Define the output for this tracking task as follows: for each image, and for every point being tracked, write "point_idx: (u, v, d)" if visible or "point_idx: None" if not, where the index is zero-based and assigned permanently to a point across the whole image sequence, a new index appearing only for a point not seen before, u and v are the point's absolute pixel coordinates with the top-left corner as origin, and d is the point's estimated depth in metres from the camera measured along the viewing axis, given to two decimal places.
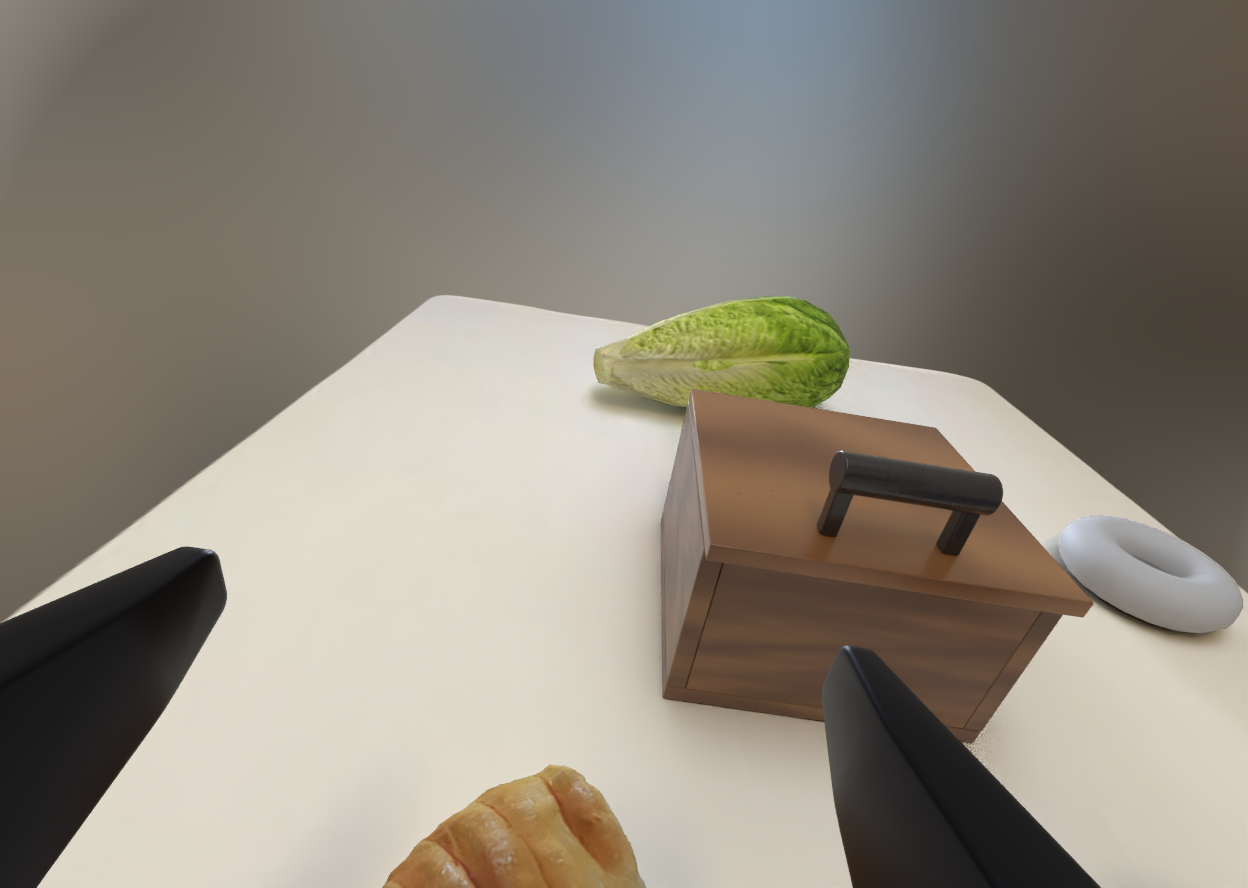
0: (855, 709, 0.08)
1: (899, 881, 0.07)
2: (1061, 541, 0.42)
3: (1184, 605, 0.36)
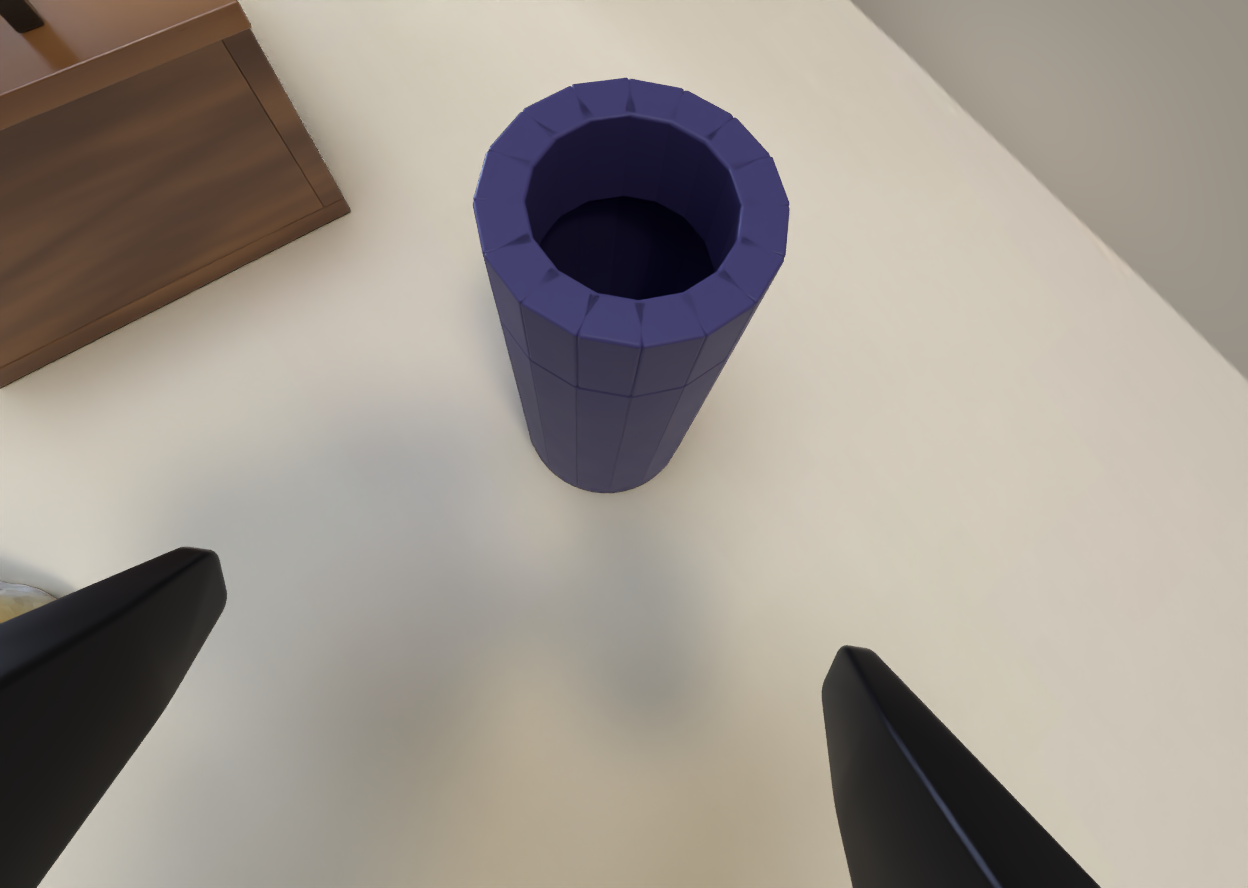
0: (855, 709, 0.08)
1: (899, 881, 0.07)
2: None
3: None
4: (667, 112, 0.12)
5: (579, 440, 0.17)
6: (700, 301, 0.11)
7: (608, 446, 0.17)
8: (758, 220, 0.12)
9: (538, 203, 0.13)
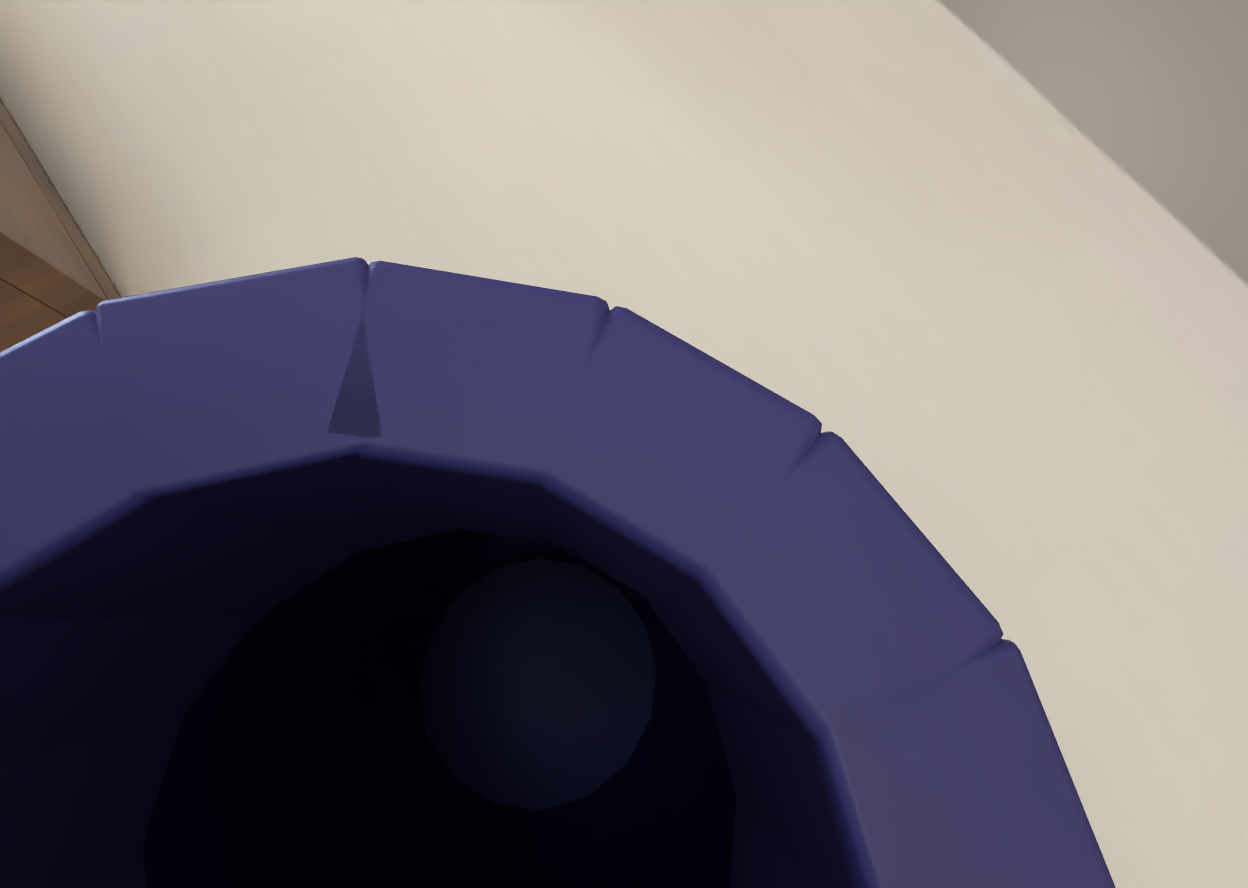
0: None
1: None
2: None
3: None
4: (534, 416, 0.03)
5: None
6: None
7: None
8: None
9: (60, 723, 0.03)
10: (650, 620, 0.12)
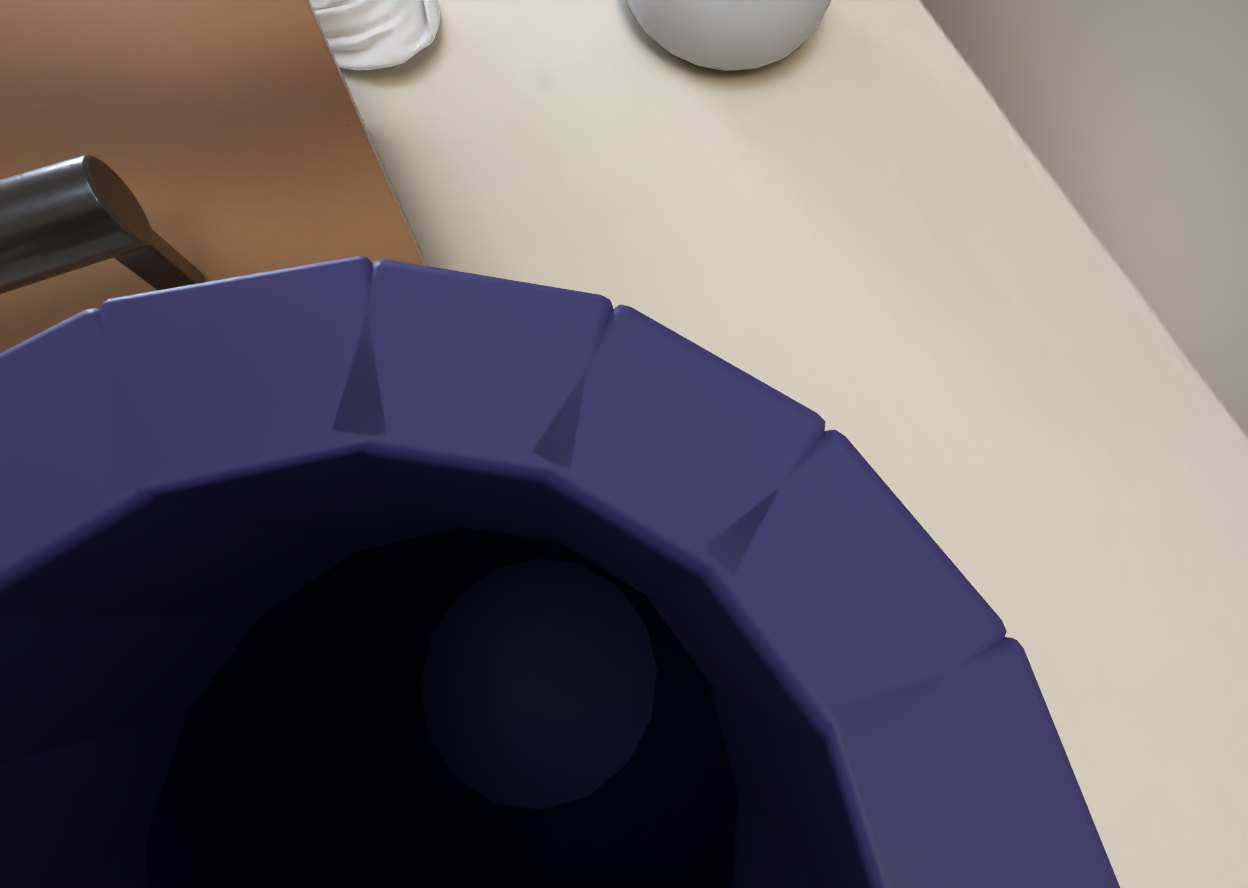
0: None
1: None
2: None
3: (753, 34, 0.26)
4: (539, 416, 0.03)
5: None
6: None
7: None
8: None
9: (61, 723, 0.03)
10: (651, 620, 0.12)
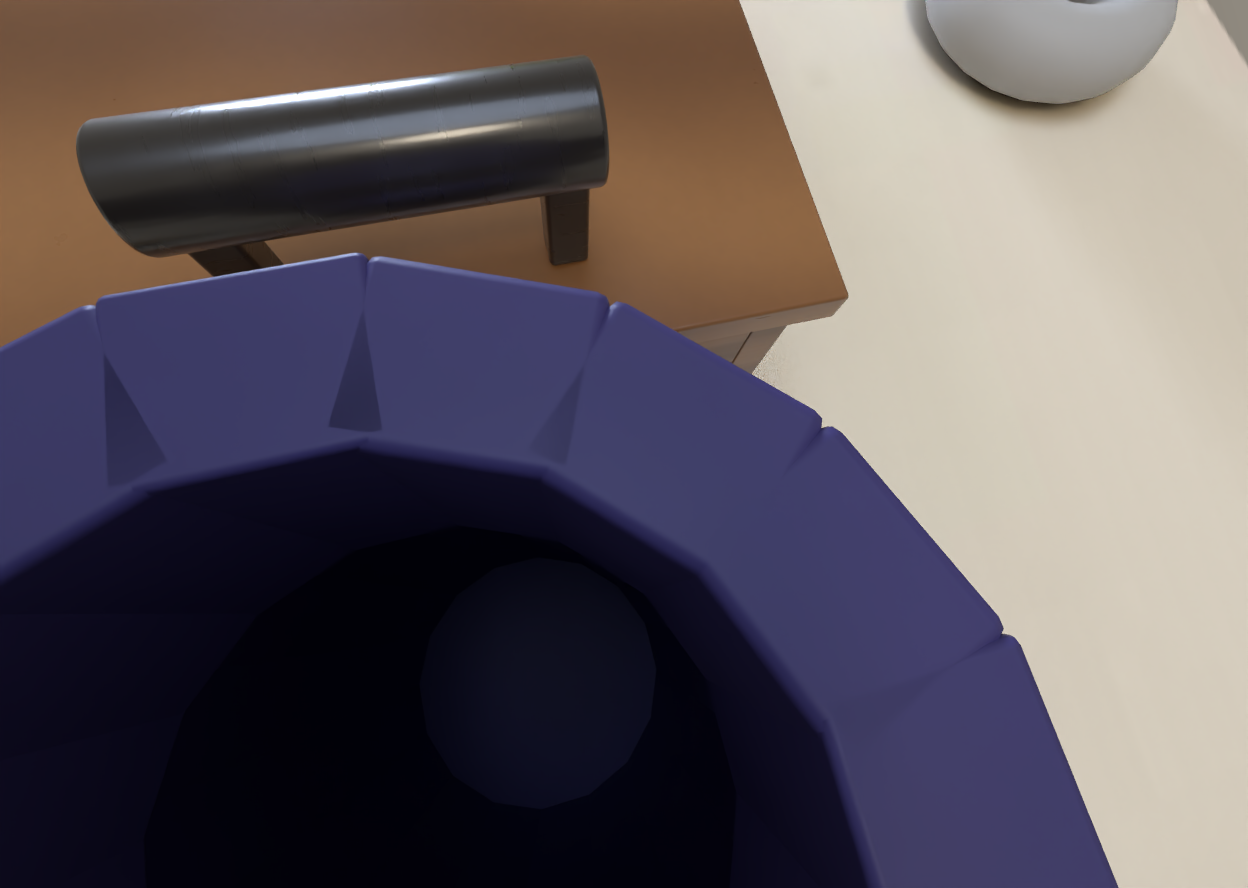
0: None
1: None
2: None
3: (1081, 64, 0.23)
4: (536, 412, 0.03)
5: None
6: None
7: None
8: None
9: (60, 721, 0.03)
10: (650, 619, 0.12)
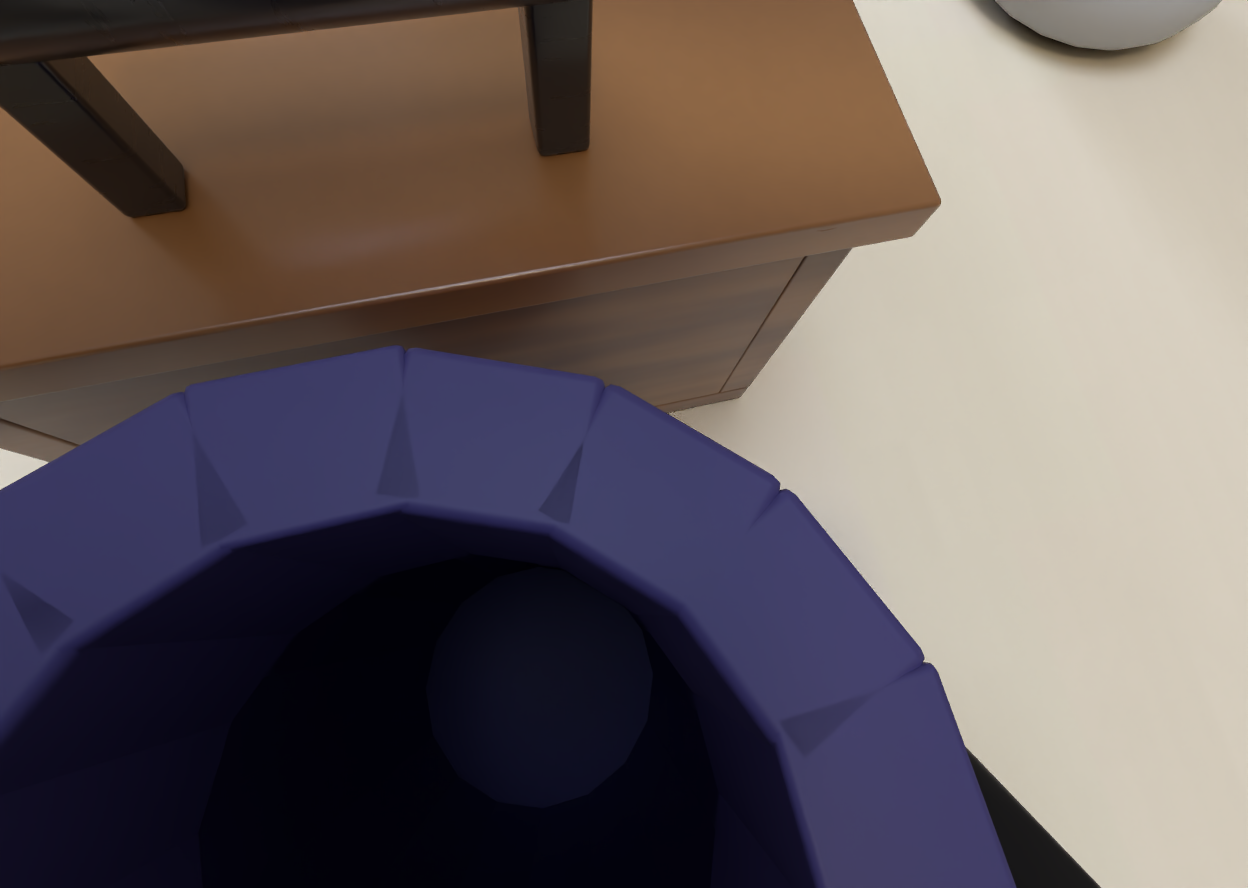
0: None
1: None
2: None
3: None
4: (543, 478, 0.03)
5: None
6: None
7: None
8: None
9: (140, 729, 0.04)
10: None
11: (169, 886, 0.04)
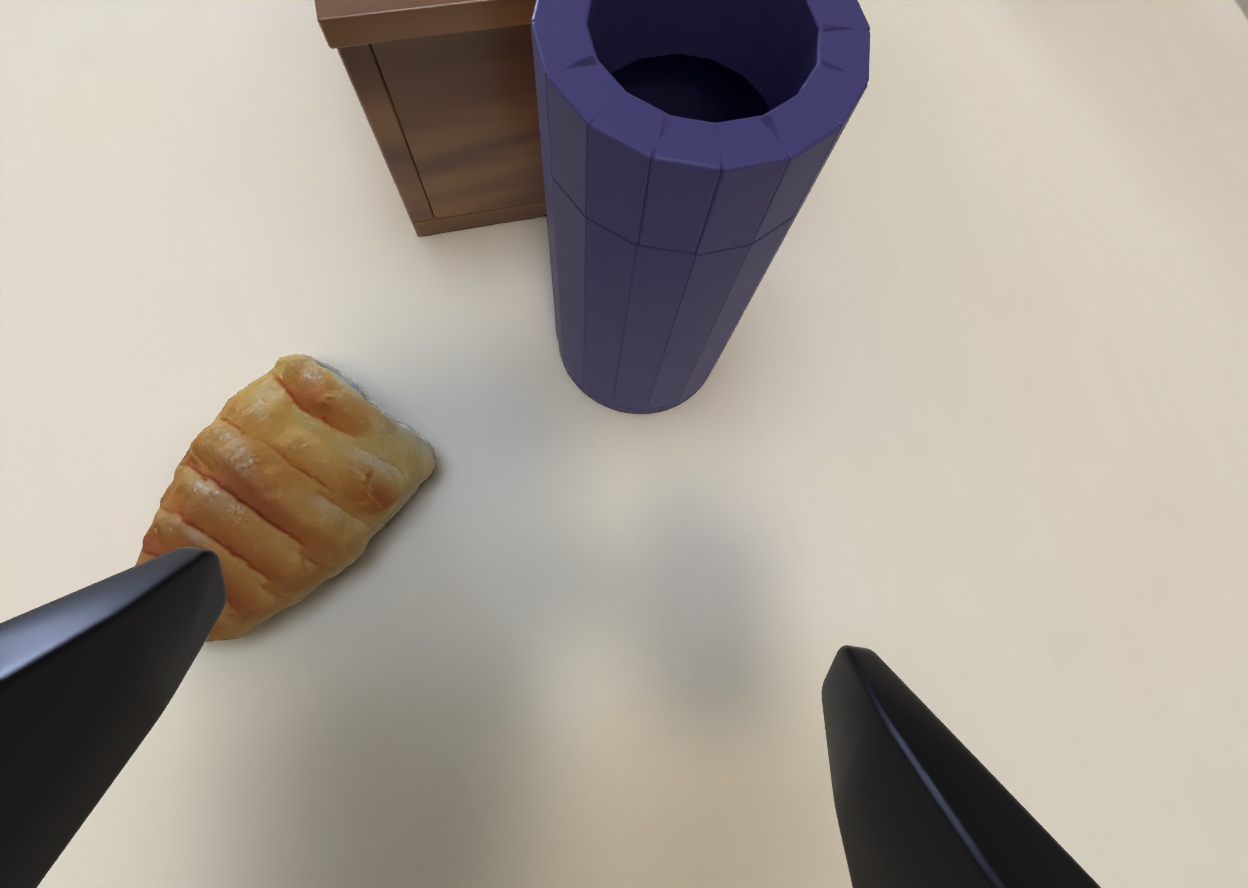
0: (855, 709, 0.08)
1: (899, 881, 0.07)
2: None
3: None
4: None
5: (626, 332, 0.16)
6: (781, 123, 0.10)
7: (656, 338, 0.16)
8: (838, 44, 0.11)
9: (593, 45, 0.12)
10: None
11: None
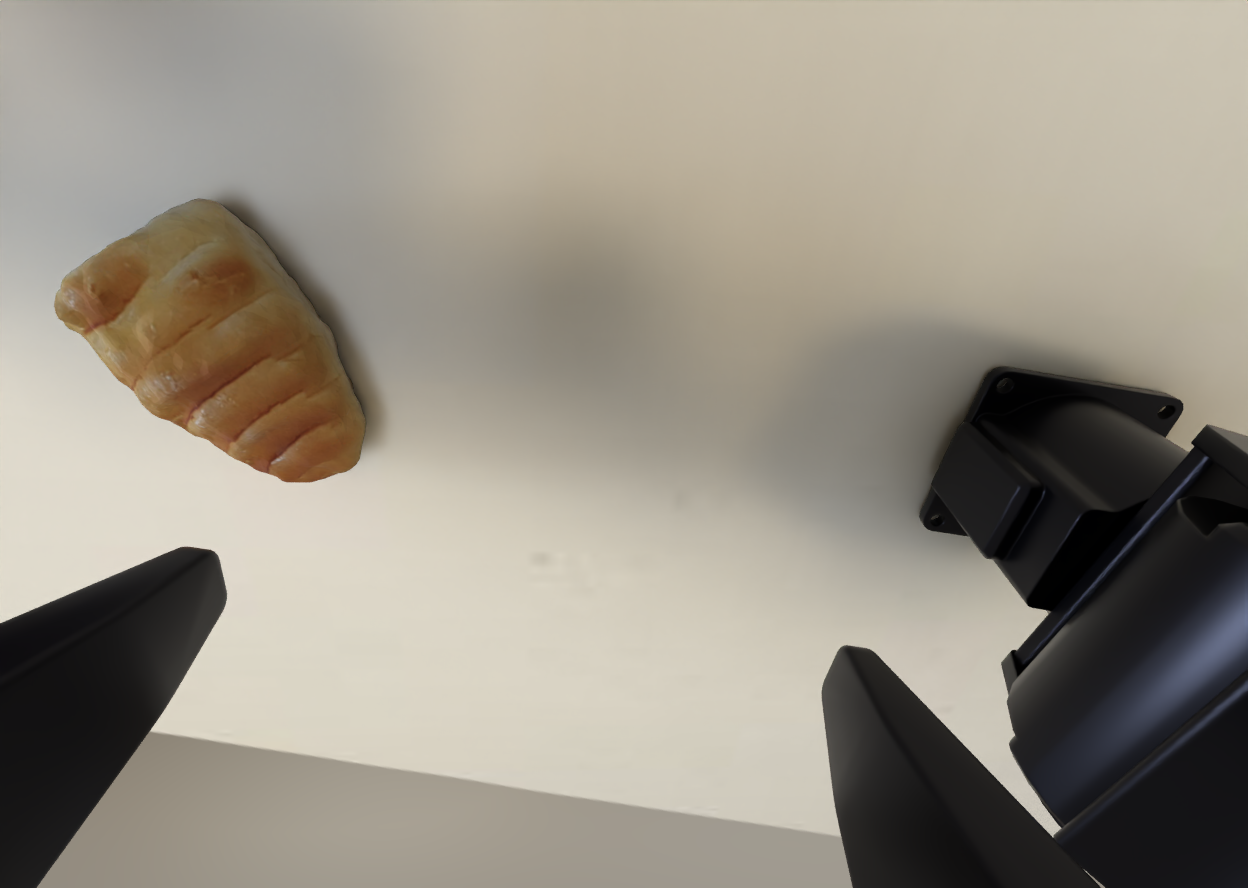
0: (855, 709, 0.08)
1: (899, 881, 0.07)
2: None
3: None
4: None
5: None
6: None
7: None
8: None
9: None
10: None
11: None
